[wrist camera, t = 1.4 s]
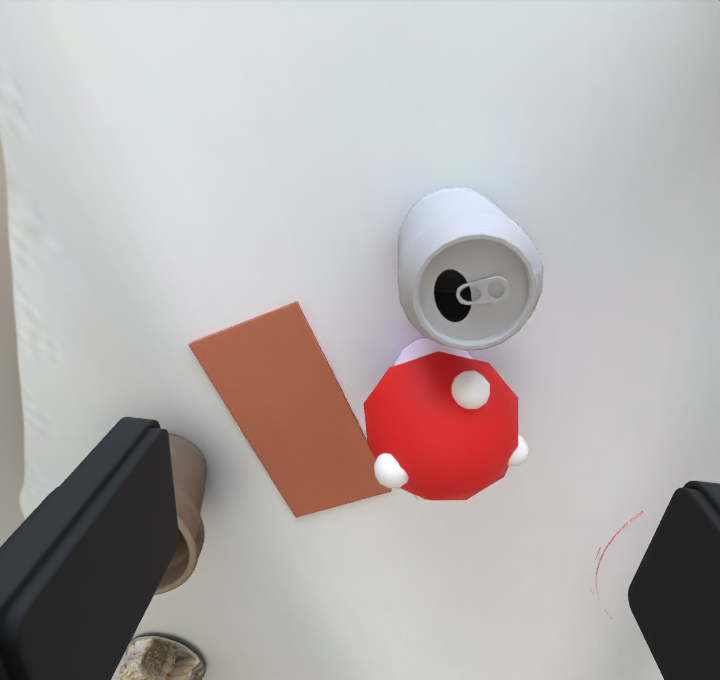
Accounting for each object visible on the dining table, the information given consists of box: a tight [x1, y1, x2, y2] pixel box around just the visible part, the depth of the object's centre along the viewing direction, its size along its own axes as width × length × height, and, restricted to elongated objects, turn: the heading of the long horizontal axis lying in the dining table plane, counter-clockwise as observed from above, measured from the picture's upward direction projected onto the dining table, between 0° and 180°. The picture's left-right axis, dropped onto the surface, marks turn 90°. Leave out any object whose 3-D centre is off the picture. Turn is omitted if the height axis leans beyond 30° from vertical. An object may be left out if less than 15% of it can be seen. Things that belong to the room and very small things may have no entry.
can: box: [398, 187, 543, 351], centre depth 29 cm, size 8×8×12 cm
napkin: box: [189, 302, 391, 517], centre depth 42 cm, size 10×20×1 cm, turn 23°
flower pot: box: [154, 434, 206, 595], centre depth 40 cm, size 12×11×10 cm
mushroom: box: [364, 337, 528, 500], centre depth 34 cm, size 11×11×12 cm
